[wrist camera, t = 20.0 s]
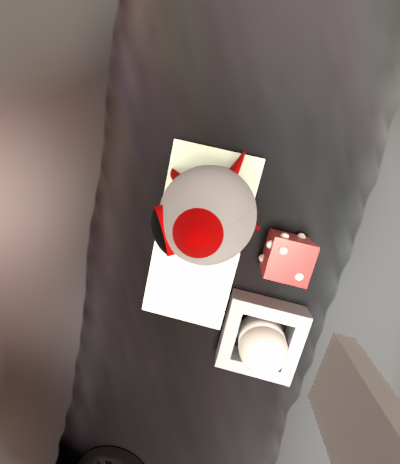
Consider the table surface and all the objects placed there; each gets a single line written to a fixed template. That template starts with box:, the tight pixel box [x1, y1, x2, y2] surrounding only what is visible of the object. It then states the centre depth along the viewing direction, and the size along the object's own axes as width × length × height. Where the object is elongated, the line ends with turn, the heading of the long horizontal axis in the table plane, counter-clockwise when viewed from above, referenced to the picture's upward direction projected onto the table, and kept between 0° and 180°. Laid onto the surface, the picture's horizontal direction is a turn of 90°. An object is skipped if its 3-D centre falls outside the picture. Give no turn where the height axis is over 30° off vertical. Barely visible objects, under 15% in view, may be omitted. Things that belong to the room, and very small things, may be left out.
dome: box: [238, 316, 288, 375], centre depth 43 cm, size 7×7×8 cm
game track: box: [142, 139, 265, 330], centre depth 44 cm, size 27×13×2 cm, turn 168°
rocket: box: [151, 151, 260, 266], centre depth 29 cm, size 11×11×25 cm
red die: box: [259, 228, 320, 289], centre depth 41 cm, size 7×7×7 cm
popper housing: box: [215, 288, 313, 387], centre depth 46 cm, size 12×12×4 cm
